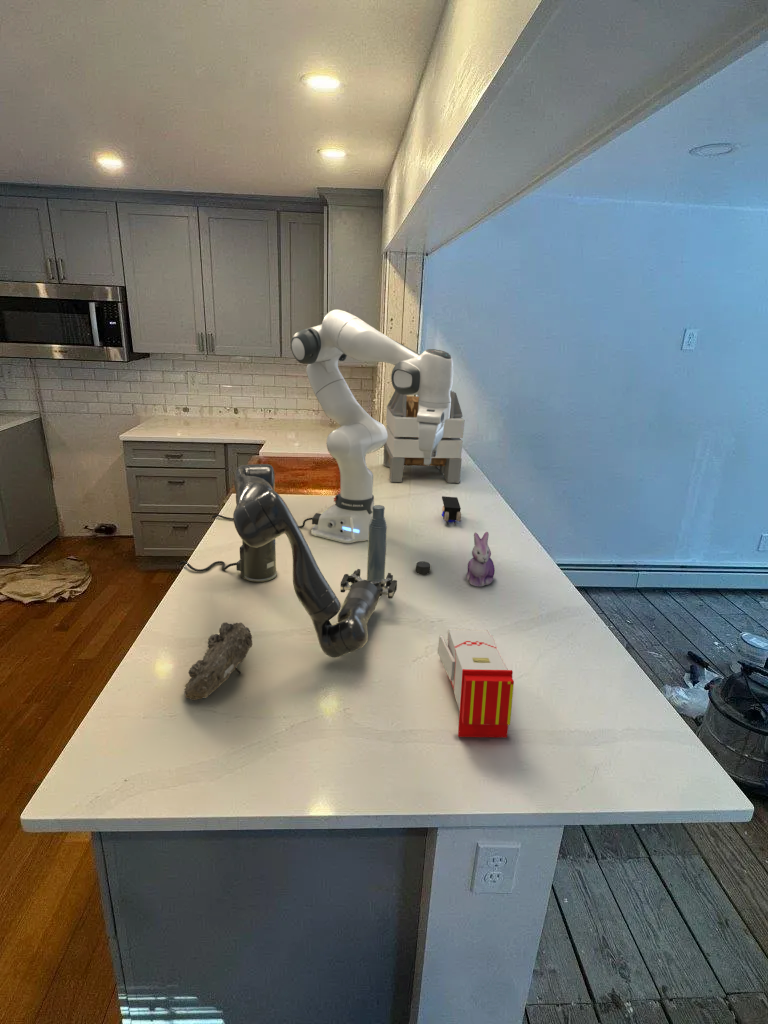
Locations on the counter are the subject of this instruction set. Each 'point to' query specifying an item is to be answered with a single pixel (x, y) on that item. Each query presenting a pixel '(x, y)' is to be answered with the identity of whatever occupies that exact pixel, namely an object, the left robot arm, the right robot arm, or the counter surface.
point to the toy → (478, 682)
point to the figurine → (480, 562)
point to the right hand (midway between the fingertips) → (430, 460)
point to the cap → (422, 567)
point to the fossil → (218, 660)
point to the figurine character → (451, 509)
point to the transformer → (405, 439)
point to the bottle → (377, 545)
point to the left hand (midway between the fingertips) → (374, 573)
